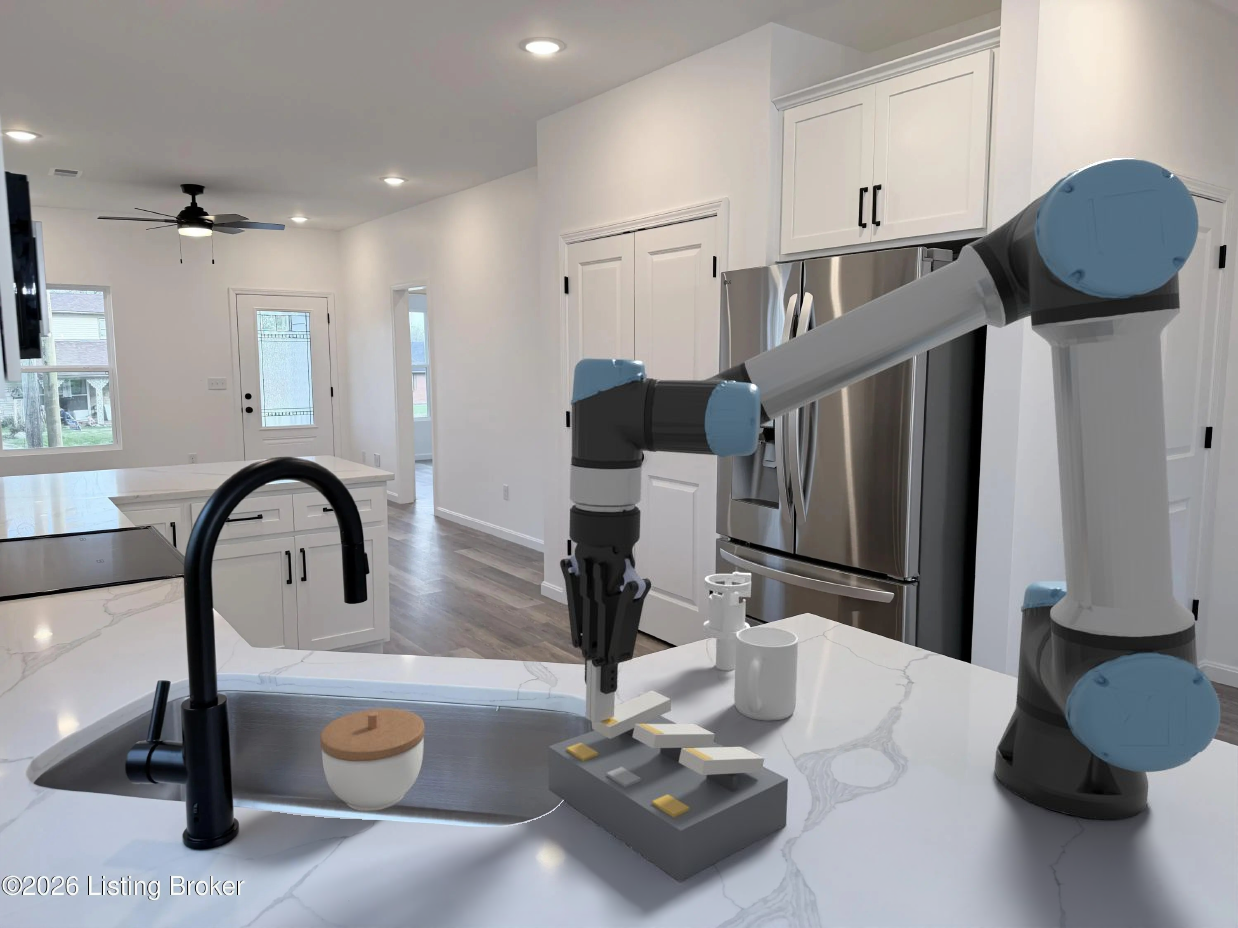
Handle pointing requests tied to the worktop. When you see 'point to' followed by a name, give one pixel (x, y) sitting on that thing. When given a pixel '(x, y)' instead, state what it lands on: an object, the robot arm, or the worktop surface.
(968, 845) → the worktop surface
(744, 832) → the switch unit
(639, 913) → the worktop surface
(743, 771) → the switch
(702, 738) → the switch
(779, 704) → the mug
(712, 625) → the white plastic fitting
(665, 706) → the switch
